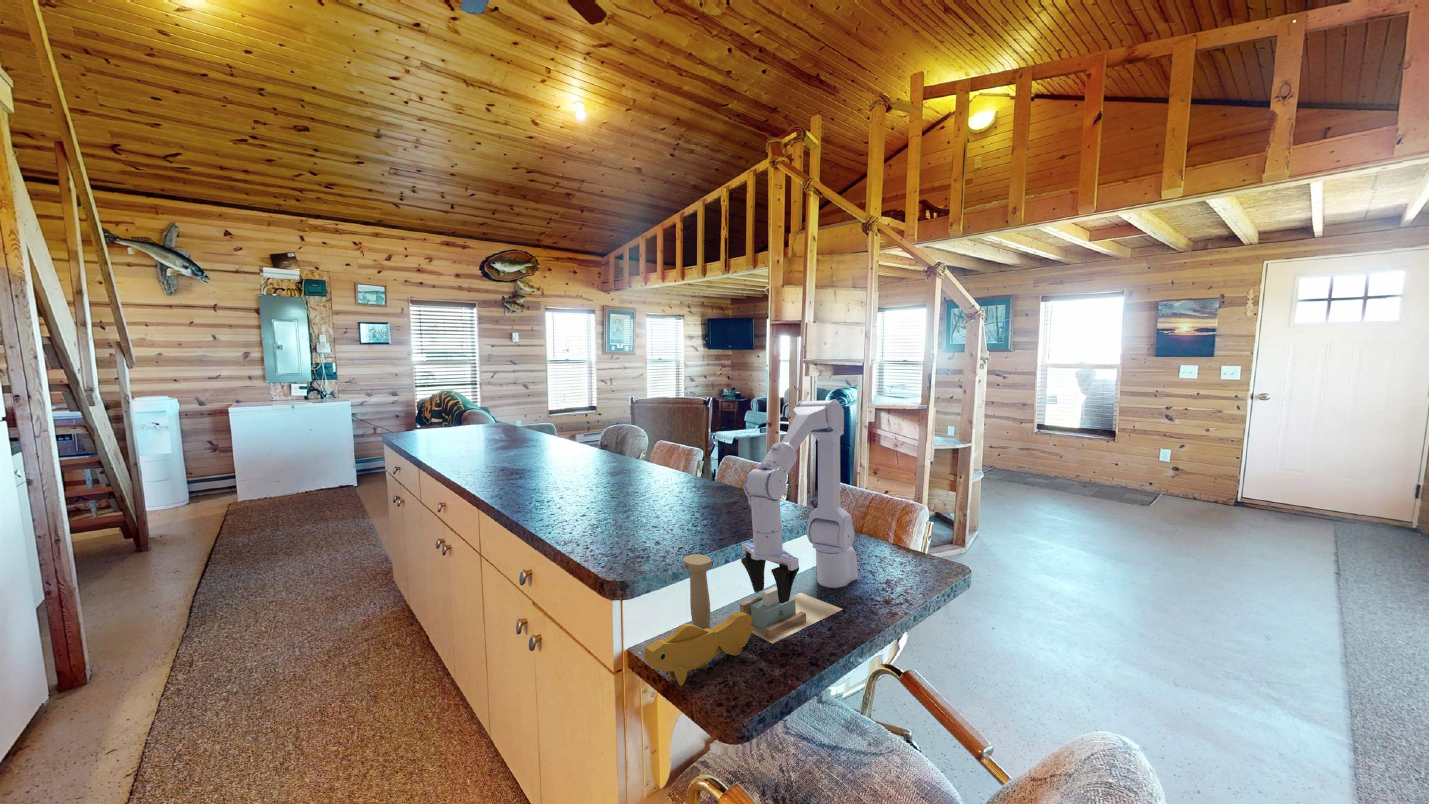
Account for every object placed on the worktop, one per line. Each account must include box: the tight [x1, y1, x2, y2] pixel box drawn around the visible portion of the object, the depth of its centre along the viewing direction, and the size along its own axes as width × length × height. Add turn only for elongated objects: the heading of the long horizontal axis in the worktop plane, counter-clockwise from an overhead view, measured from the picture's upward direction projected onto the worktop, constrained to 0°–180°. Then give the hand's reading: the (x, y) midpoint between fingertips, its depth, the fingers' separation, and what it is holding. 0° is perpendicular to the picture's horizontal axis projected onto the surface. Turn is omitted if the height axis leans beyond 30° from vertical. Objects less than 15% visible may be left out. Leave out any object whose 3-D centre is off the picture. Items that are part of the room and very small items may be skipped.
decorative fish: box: [643, 611, 753, 687], centre depth 90 cm, size 22×3×10 cm, turn 127°
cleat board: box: [739, 592, 843, 644], centre depth 106 cm, size 20×12×5 cm, turn 127°
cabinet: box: [750, 585, 796, 631], centre depth 104 cm, size 8×5×6 cm, turn 127°
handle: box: [682, 553, 713, 629], centre depth 103 cm, size 5×6×15 cm
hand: (771, 596), depth 104 cm, fingers open, 7 cm apart
